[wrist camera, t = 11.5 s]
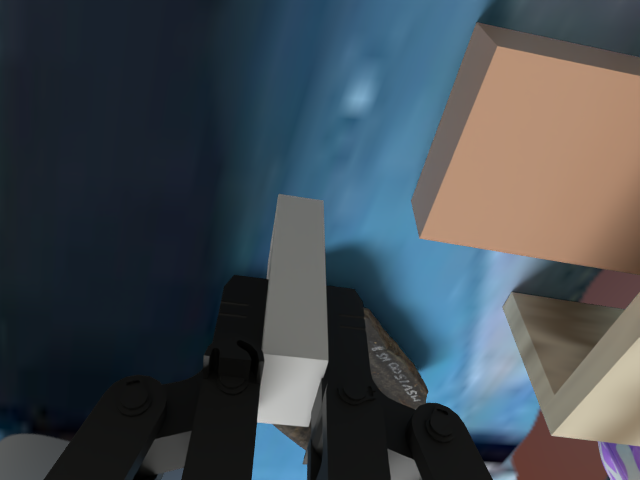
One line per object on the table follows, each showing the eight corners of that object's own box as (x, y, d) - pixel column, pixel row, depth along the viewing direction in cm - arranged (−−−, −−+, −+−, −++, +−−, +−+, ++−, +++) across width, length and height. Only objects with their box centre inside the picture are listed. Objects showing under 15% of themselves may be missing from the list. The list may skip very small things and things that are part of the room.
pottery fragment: (437, 392, 38) (441, 446, 35) (309, 417, 43) (302, 466, 40) (348, 271, 30) (343, 327, 27) (203, 319, 35) (184, 371, 32)
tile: (410, 196, 29) (419, 238, 25) (474, 19, 22) (497, 45, 19) (627, 234, 30) (661, 278, 27) (744, 77, 24) (806, 111, 21)
